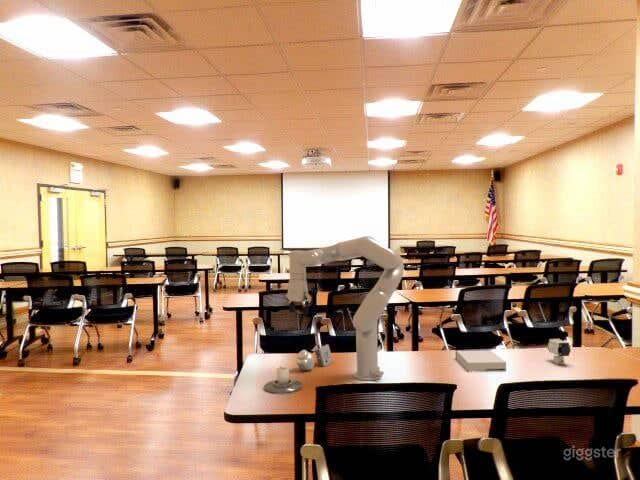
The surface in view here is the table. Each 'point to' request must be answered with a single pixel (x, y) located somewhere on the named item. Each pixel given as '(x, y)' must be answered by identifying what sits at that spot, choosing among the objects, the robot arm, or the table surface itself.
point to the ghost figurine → (305, 360)
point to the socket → (283, 386)
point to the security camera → (558, 349)
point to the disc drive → (480, 360)
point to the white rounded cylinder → (282, 375)
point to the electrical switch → (324, 356)
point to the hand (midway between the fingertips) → (298, 313)
